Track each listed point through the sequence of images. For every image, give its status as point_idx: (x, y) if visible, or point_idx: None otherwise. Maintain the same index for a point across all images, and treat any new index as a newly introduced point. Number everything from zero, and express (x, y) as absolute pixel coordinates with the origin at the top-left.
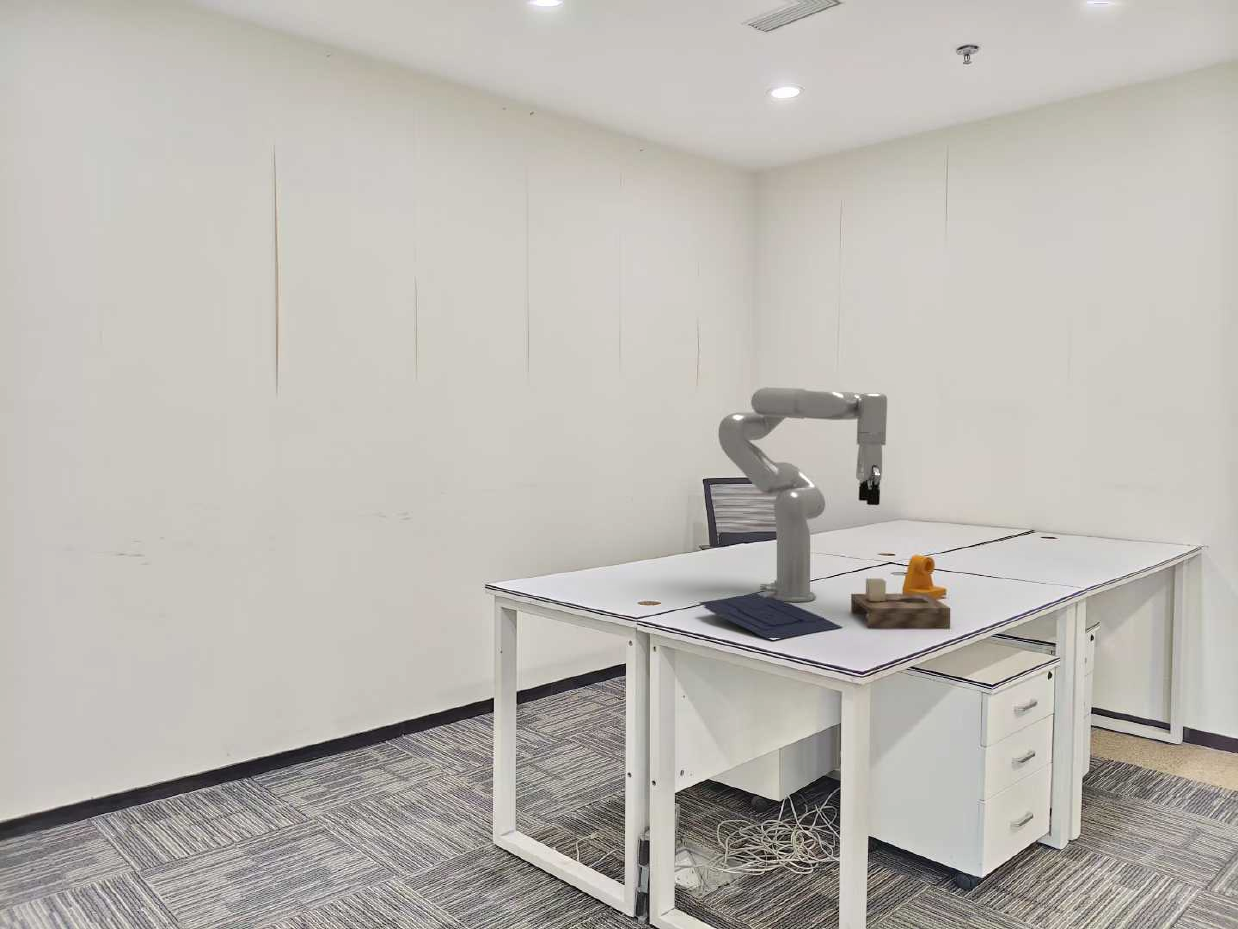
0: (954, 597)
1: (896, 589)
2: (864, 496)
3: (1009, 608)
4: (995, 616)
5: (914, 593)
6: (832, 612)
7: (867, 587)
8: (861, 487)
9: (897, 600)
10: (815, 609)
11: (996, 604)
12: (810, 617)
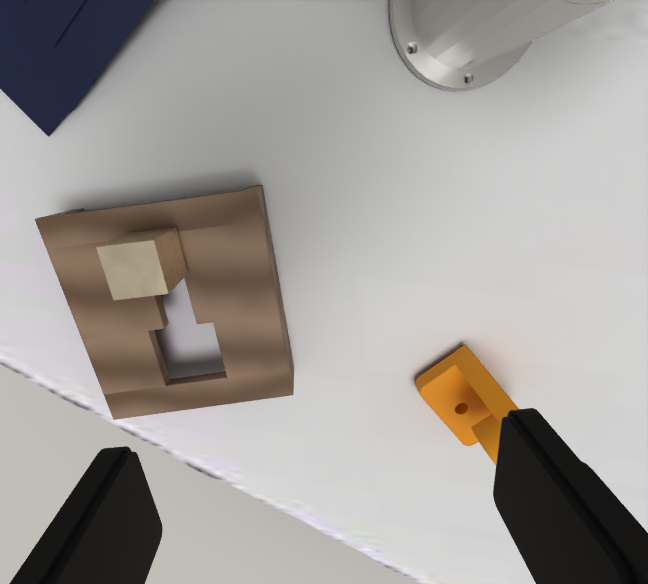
0: (461, 445)
1: (566, 341)
2: (521, 487)
3: (353, 516)
4: (273, 483)
5: (436, 372)
6: (254, 128)
7: (142, 237)
8: (608, 580)
9: (195, 314)
10: (289, 74)
11: (390, 503)
12: (76, 30)
